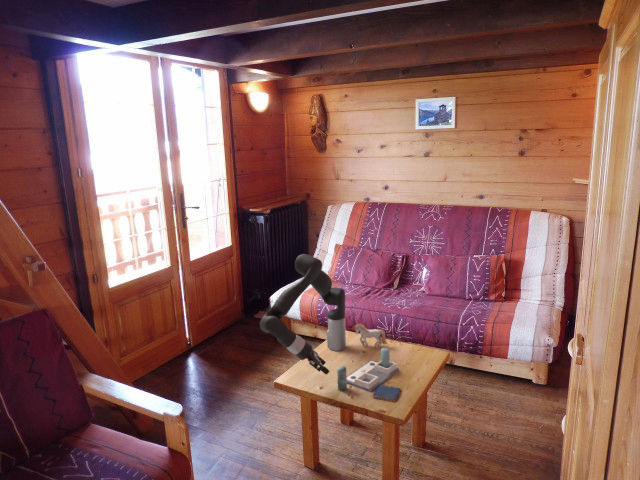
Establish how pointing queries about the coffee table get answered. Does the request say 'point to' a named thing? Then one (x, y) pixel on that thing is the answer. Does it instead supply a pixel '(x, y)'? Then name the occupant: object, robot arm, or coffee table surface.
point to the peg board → (373, 373)
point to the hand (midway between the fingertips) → (326, 368)
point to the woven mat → (387, 393)
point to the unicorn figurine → (370, 335)
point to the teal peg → (342, 378)
